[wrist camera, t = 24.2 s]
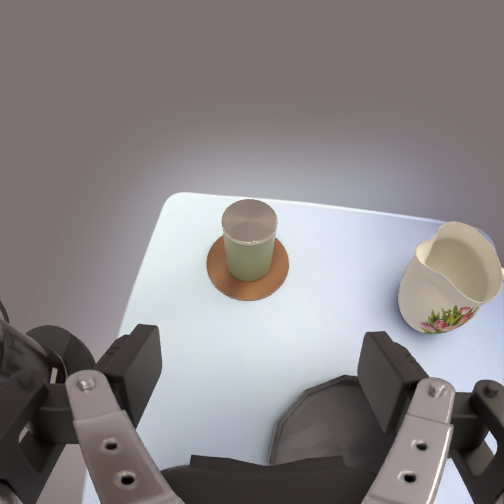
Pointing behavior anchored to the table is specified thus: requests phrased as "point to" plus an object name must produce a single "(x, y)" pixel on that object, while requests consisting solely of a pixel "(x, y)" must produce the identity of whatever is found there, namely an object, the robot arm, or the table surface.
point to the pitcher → (449, 279)
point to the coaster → (243, 288)
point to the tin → (249, 238)
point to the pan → (331, 427)
